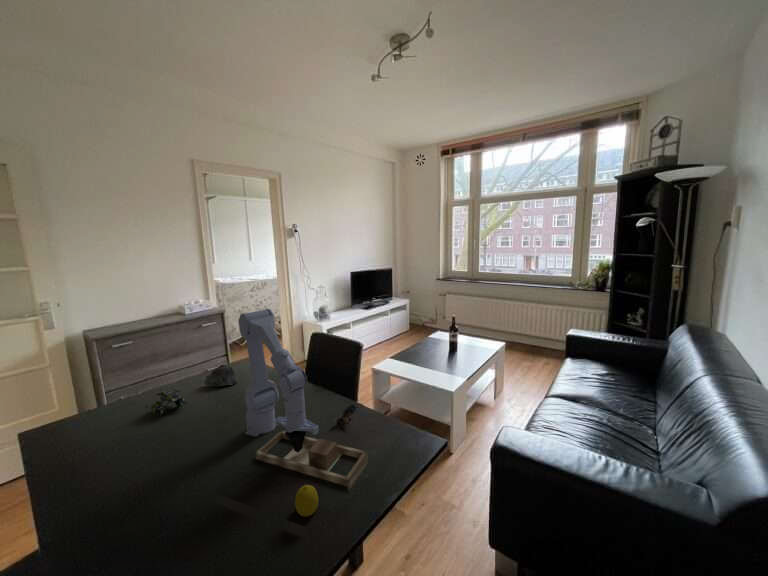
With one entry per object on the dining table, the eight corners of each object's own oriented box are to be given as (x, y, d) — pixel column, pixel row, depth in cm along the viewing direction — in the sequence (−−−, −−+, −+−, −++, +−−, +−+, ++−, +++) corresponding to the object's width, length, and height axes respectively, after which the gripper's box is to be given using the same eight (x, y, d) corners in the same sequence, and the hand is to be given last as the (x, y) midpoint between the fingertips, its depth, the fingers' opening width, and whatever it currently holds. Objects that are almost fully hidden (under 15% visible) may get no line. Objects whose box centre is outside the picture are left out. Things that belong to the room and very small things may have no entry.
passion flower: (180, 419, 134) (194, 396, 133) (156, 429, 123) (171, 405, 122) (162, 401, 136) (176, 379, 135) (137, 410, 126) (152, 386, 124)
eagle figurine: (357, 429, 112) (361, 410, 121) (345, 415, 111) (349, 397, 119) (340, 438, 114) (345, 419, 123) (328, 424, 112) (333, 406, 121)
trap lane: (256, 463, 99) (255, 452, 98) (282, 439, 109) (281, 430, 109) (348, 491, 86) (348, 480, 86) (367, 462, 97) (367, 451, 97)
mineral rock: (203, 387, 150) (200, 367, 149) (222, 377, 160) (220, 358, 158) (223, 391, 145) (221, 370, 144) (242, 381, 155) (240, 361, 154)
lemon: (298, 506, 82) (296, 479, 81) (320, 504, 83) (318, 477, 81) (294, 526, 77) (291, 496, 75) (317, 523, 77) (315, 494, 76)
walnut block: (309, 466, 94) (308, 450, 94) (320, 453, 100) (319, 438, 99) (326, 471, 92) (325, 455, 91) (337, 457, 98) (336, 442, 97)
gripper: (266, 411, 96) (270, 452, 98) (307, 421, 91) (310, 464, 93) (282, 400, 102) (285, 439, 105) (321, 408, 97) (324, 449, 99)
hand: (298, 449), depth 99 cm, fingers closed
